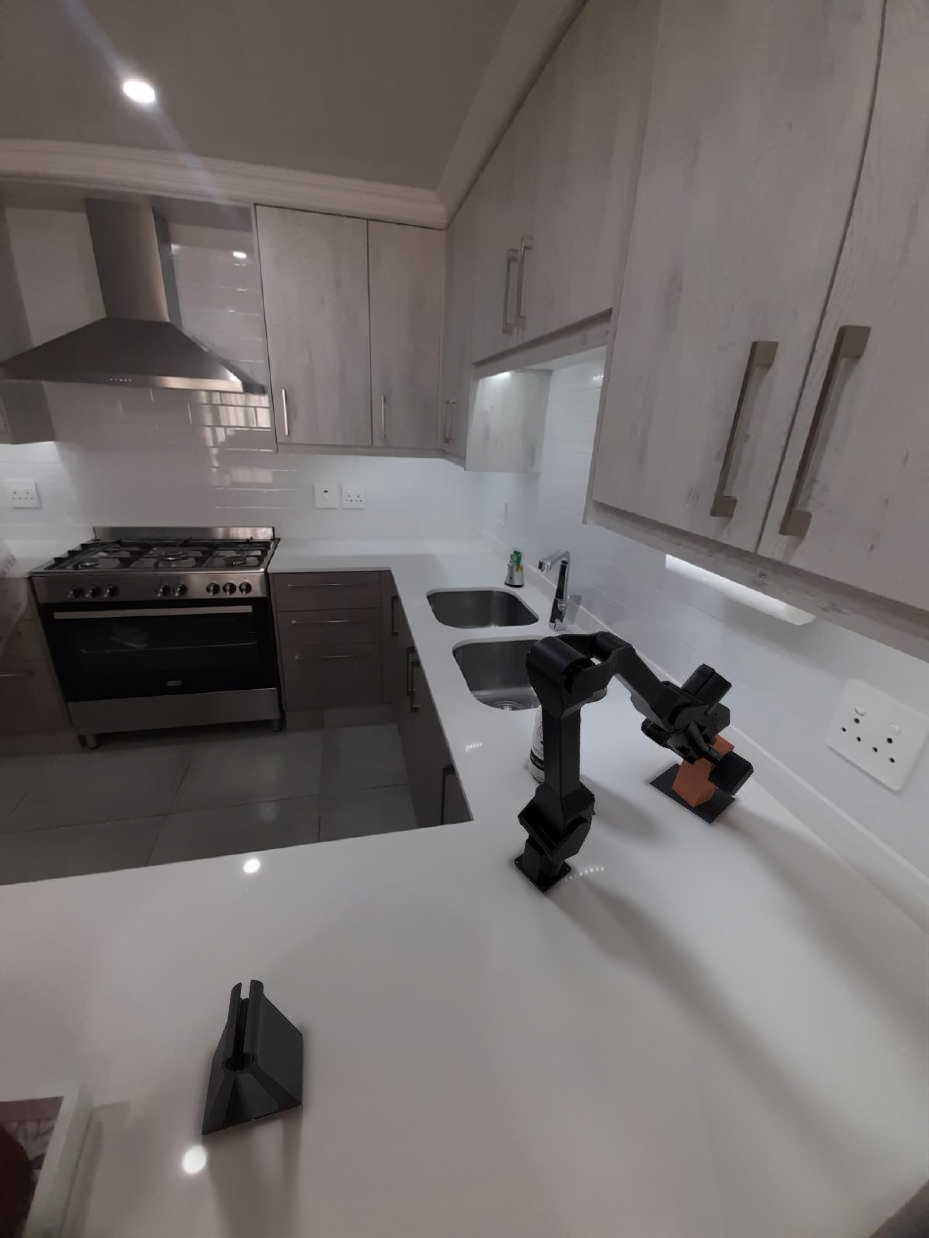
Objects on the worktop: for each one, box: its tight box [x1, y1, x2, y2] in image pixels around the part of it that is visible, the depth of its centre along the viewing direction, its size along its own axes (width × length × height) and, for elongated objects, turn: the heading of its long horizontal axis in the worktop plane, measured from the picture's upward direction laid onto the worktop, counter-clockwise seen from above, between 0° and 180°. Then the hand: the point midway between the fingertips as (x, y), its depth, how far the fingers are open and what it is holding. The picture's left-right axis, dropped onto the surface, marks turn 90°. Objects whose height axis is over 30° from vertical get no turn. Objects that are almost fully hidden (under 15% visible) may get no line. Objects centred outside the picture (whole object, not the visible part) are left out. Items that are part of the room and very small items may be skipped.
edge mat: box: [649, 762, 736, 824], centre depth 93 cm, size 10×12×1 cm
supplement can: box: [527, 704, 582, 783], centre depth 92 cm, size 8×8×15 cm
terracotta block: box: [672, 733, 735, 808], centre depth 89 cm, size 5×5×13 cm
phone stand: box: [200, 979, 303, 1136], centre depth 47 cm, size 9×6×12 cm, turn 105°
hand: (705, 763), depth 90 cm, fingers open, 8 cm apart
